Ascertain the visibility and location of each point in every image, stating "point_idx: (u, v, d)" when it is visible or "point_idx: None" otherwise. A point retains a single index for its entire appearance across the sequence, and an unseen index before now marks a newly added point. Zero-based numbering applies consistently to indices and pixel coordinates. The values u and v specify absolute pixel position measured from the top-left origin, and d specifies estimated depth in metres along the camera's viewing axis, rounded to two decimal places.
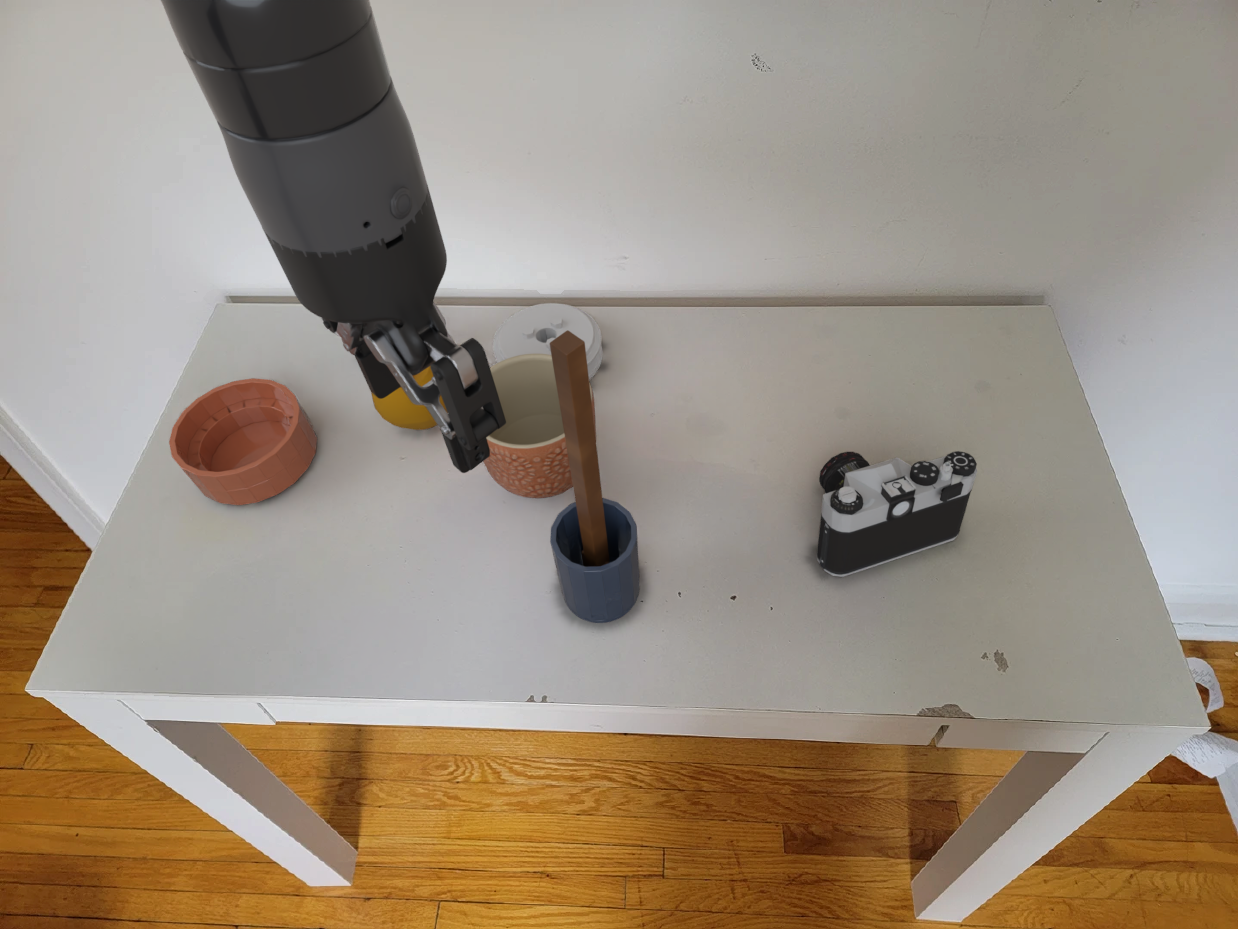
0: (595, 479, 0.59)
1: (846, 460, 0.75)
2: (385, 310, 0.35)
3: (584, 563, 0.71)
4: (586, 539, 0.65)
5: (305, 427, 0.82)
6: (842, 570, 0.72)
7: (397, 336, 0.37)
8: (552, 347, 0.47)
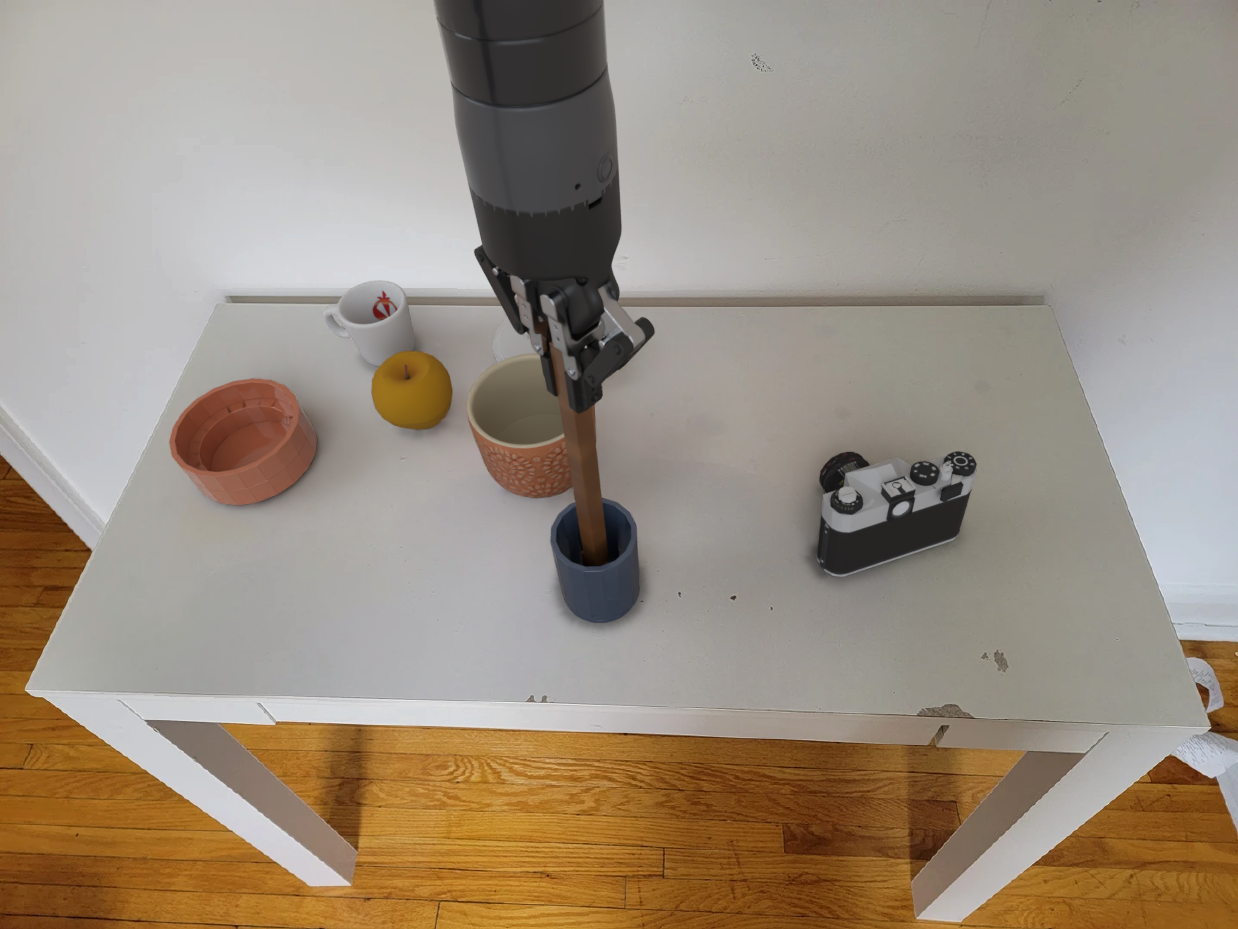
0: (594, 479, 0.59)
1: (846, 460, 0.75)
2: (576, 268, 0.39)
3: (583, 563, 0.71)
4: (585, 539, 0.65)
5: (305, 427, 0.82)
6: (842, 570, 0.72)
7: (577, 294, 0.41)
8: (552, 347, 0.48)
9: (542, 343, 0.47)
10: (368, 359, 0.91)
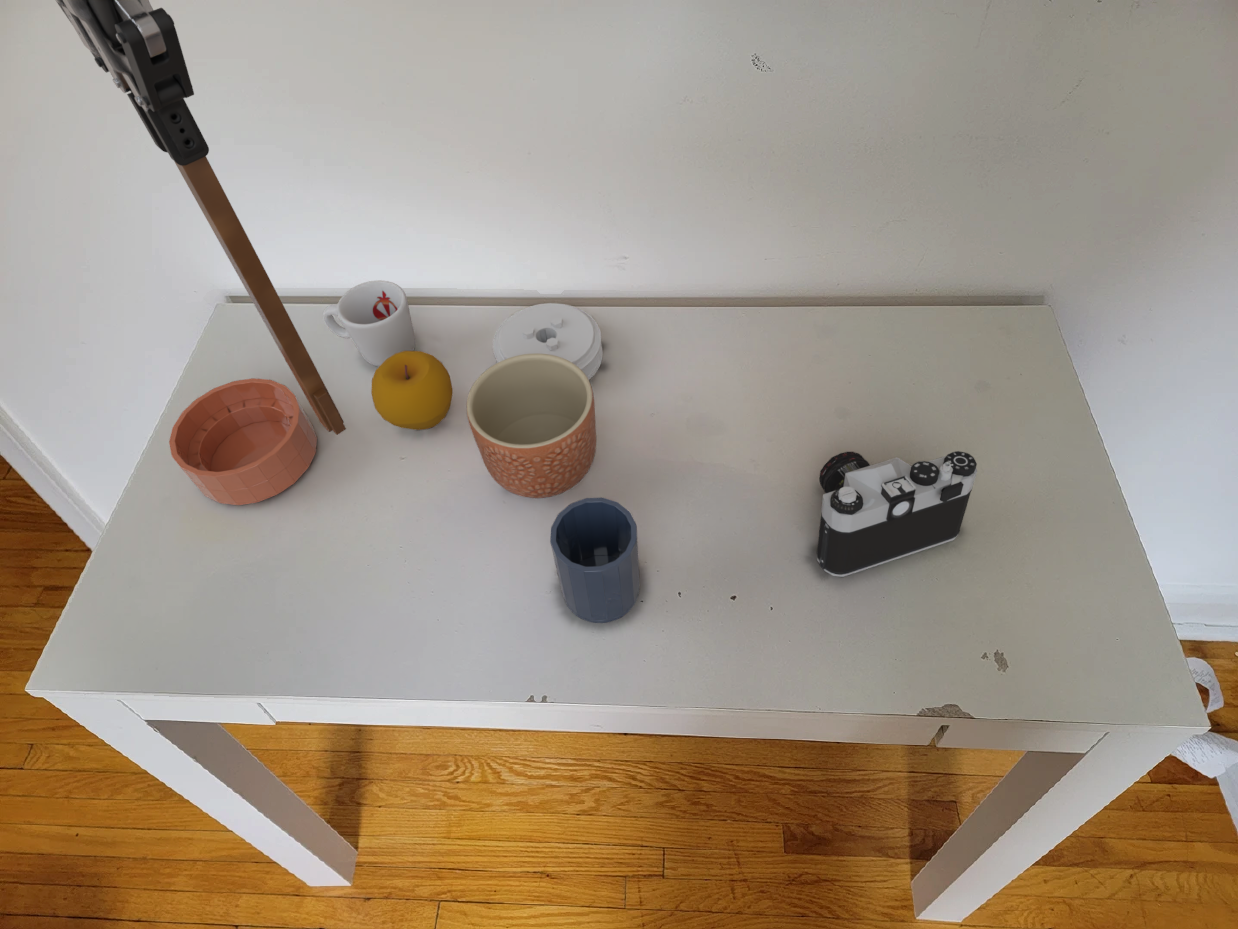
0: (256, 269, 0.56)
1: (846, 460, 0.75)
2: None
3: None
4: (284, 355, 0.63)
5: (305, 427, 0.82)
6: (842, 570, 0.72)
7: None
8: None
9: (115, 73, 0.45)
10: (368, 359, 0.91)
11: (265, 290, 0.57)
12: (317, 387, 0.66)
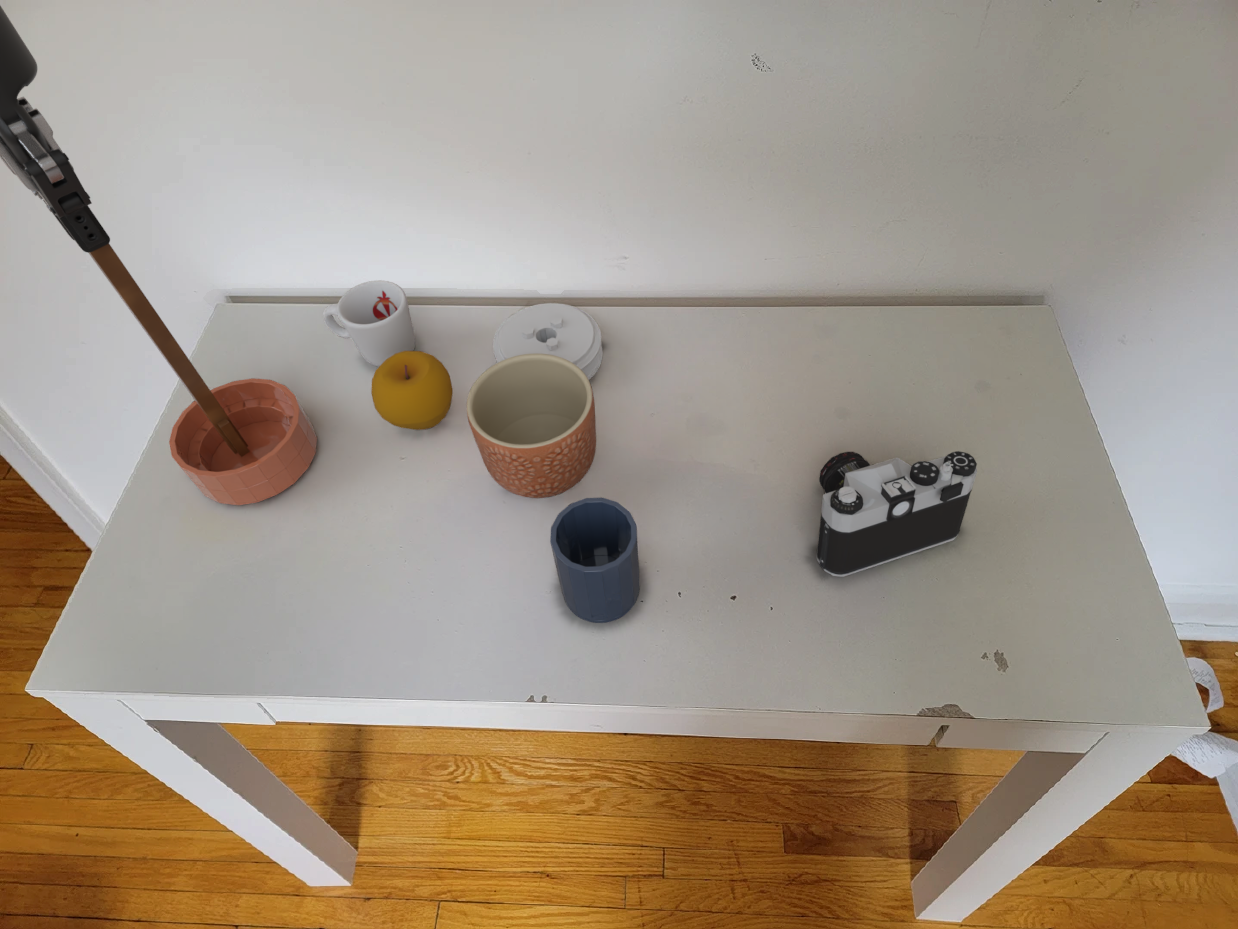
0: (159, 326, 0.69)
1: (846, 460, 0.75)
2: None
3: None
4: (190, 392, 0.76)
5: (305, 427, 0.82)
6: (842, 570, 0.72)
7: None
8: None
9: None
10: (368, 359, 0.91)
11: (167, 342, 0.71)
12: (221, 418, 0.79)
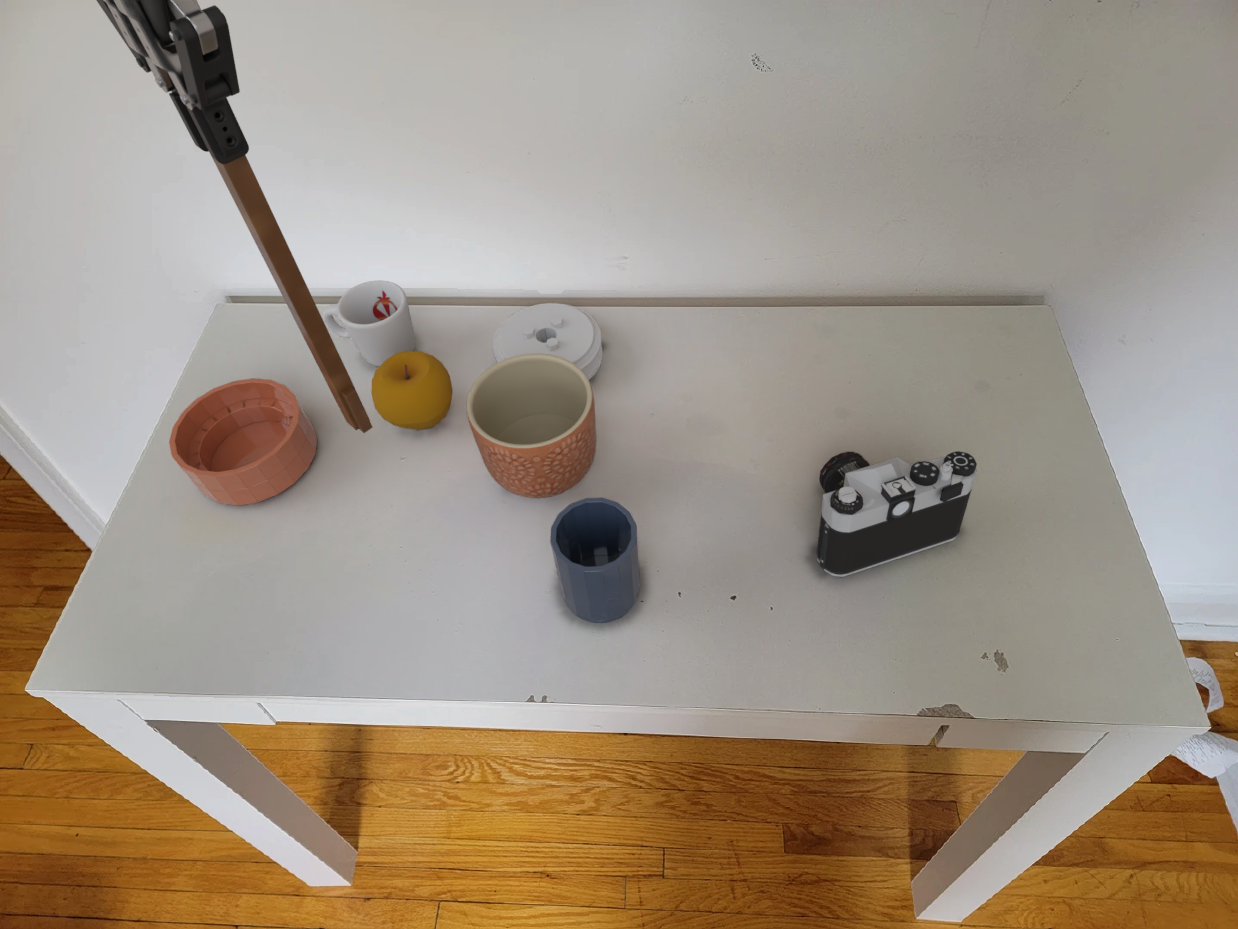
0: (290, 267, 0.56)
1: (846, 460, 0.75)
2: None
3: None
4: (314, 353, 0.63)
5: (305, 427, 0.82)
6: (842, 570, 0.72)
7: None
8: None
9: (159, 72, 0.45)
10: (368, 359, 0.91)
11: (298, 288, 0.58)
12: (345, 385, 0.66)
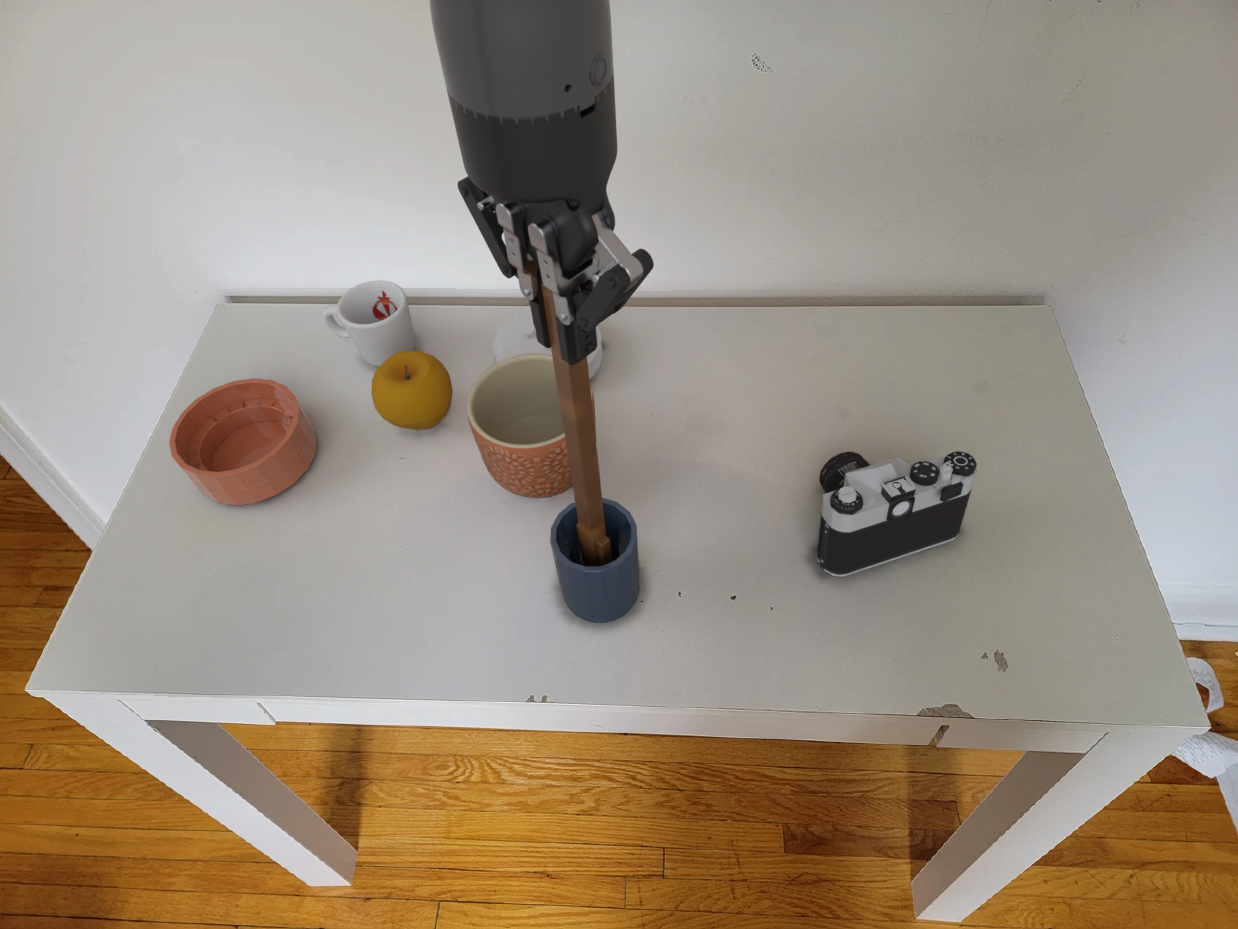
0: (590, 441, 0.55)
1: (846, 460, 0.75)
2: (566, 188, 0.35)
3: (579, 537, 0.67)
4: (581, 509, 0.62)
5: (305, 427, 0.82)
6: (842, 570, 0.72)
7: (569, 221, 0.37)
8: (544, 288, 0.44)
9: (531, 286, 0.44)
10: (368, 359, 0.91)
11: (591, 458, 0.56)
12: (600, 534, 0.65)
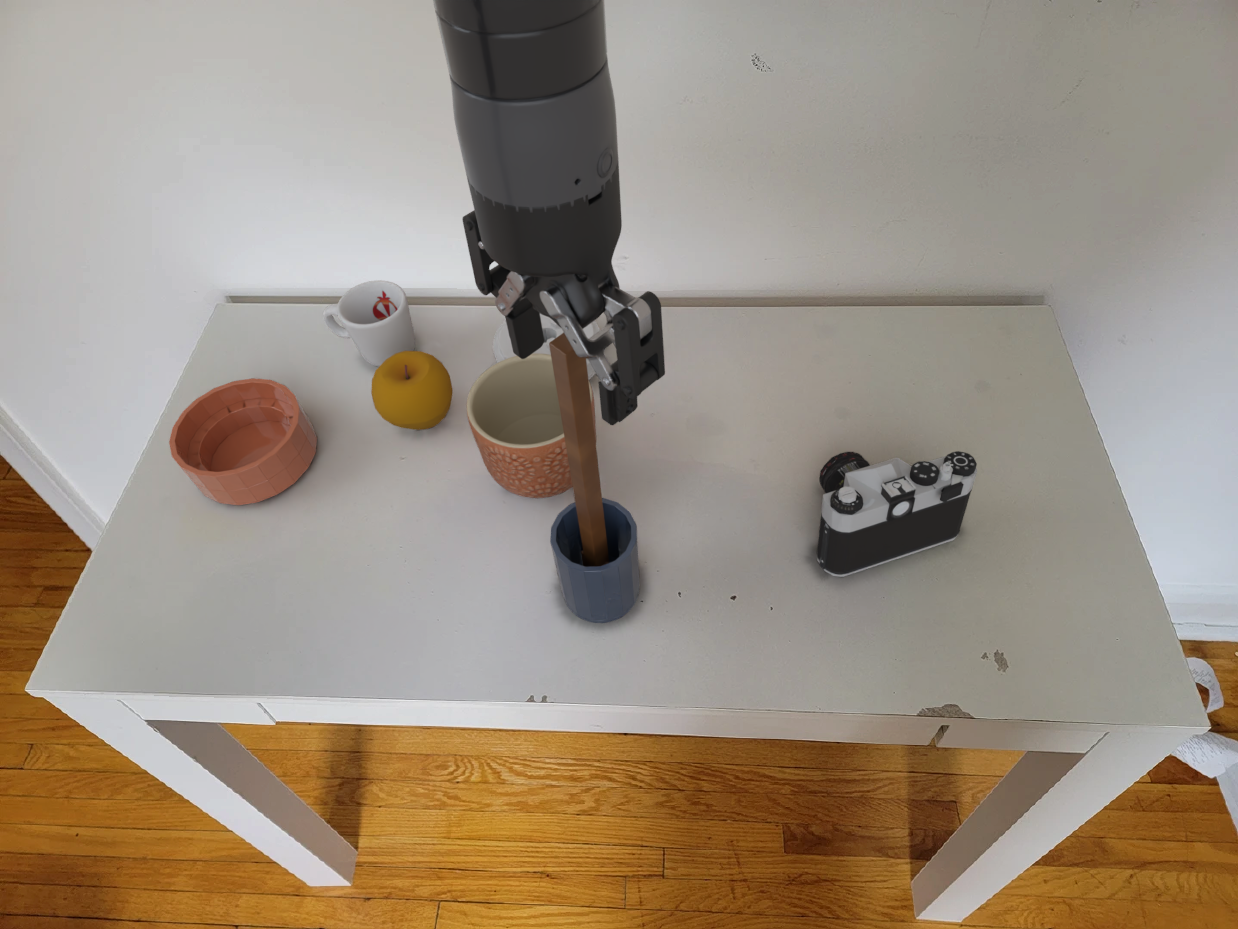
0: (594, 479, 0.59)
1: (846, 460, 0.75)
2: (575, 264, 0.38)
3: (584, 563, 0.71)
4: (586, 539, 0.65)
5: (305, 427, 0.82)
6: (842, 570, 0.72)
7: (577, 290, 0.41)
8: (551, 347, 0.47)
9: (505, 302, 0.48)
10: (368, 359, 0.91)
11: (595, 493, 0.60)
12: (603, 561, 0.69)
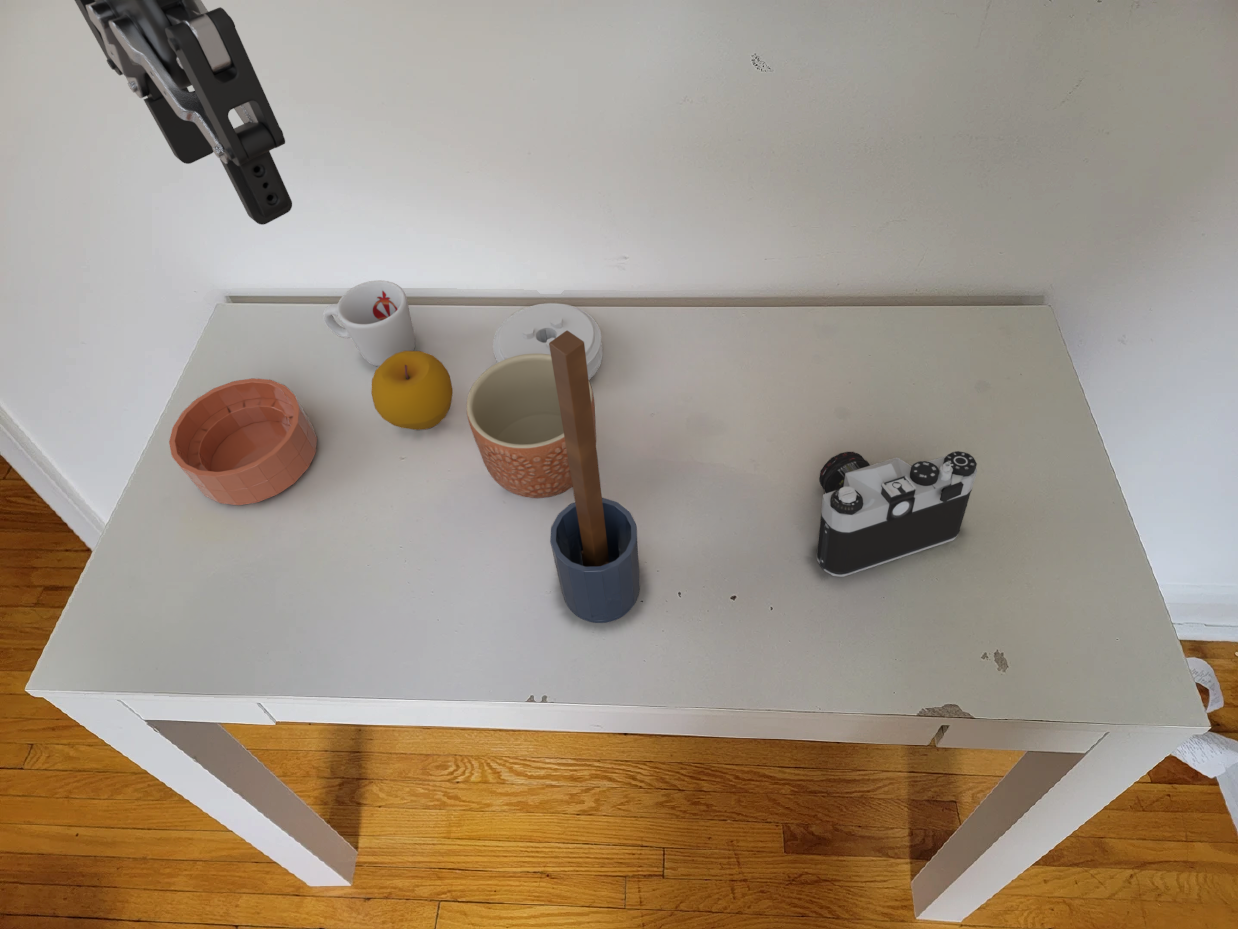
0: (594, 479, 0.59)
1: (846, 460, 0.75)
2: None
3: (584, 563, 0.71)
4: (586, 539, 0.65)
5: (305, 427, 0.82)
6: (842, 570, 0.72)
7: (138, 12, 0.33)
8: (551, 347, 0.47)
9: None
10: (368, 359, 0.91)
11: (595, 493, 0.60)
12: (603, 561, 0.69)
